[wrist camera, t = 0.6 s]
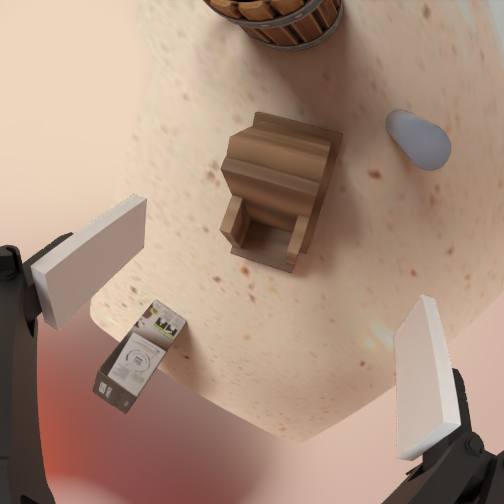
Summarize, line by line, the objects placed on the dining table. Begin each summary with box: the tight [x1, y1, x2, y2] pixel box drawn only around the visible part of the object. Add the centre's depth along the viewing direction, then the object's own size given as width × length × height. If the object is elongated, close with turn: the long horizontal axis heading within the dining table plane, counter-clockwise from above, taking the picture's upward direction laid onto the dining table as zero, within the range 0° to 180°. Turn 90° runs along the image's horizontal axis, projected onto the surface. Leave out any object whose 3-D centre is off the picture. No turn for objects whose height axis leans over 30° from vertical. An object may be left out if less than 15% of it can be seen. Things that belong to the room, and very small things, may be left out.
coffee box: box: [93, 300, 186, 414], centre depth 46 cm, size 9×6×16 cm
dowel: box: [386, 110, 451, 170], centre depth 23 cm, size 3×3×12 cm
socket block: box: [220, 112, 343, 273], centre depth 30 cm, size 16×9×12 cm, turn 168°
